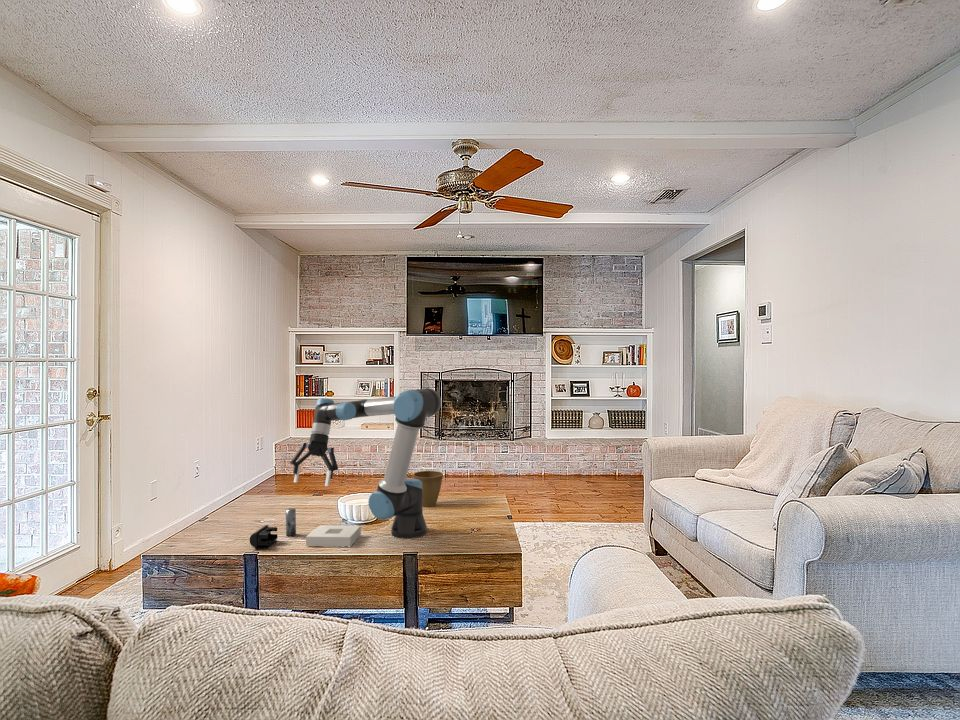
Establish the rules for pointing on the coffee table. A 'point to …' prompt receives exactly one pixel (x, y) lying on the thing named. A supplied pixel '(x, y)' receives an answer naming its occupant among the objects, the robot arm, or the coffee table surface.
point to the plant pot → (429, 486)
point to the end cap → (263, 538)
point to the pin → (290, 522)
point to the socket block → (333, 536)
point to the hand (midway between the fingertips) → (311, 484)
